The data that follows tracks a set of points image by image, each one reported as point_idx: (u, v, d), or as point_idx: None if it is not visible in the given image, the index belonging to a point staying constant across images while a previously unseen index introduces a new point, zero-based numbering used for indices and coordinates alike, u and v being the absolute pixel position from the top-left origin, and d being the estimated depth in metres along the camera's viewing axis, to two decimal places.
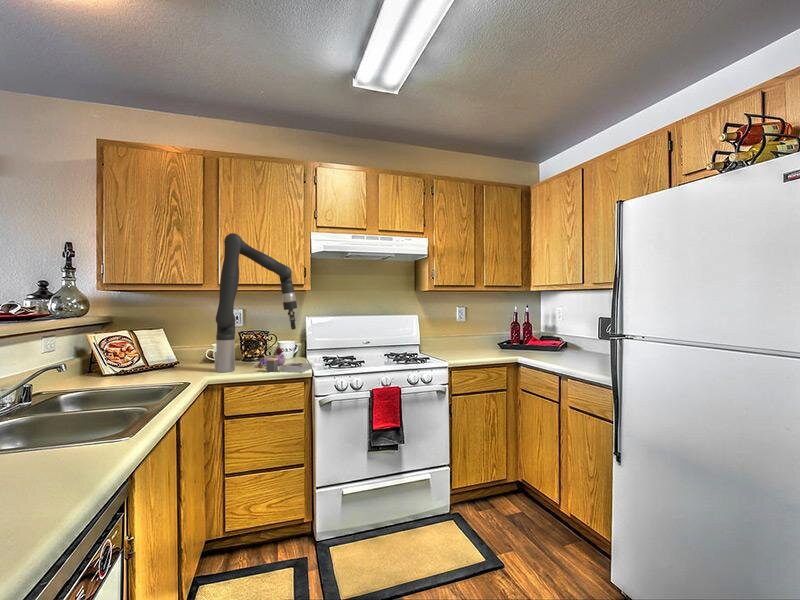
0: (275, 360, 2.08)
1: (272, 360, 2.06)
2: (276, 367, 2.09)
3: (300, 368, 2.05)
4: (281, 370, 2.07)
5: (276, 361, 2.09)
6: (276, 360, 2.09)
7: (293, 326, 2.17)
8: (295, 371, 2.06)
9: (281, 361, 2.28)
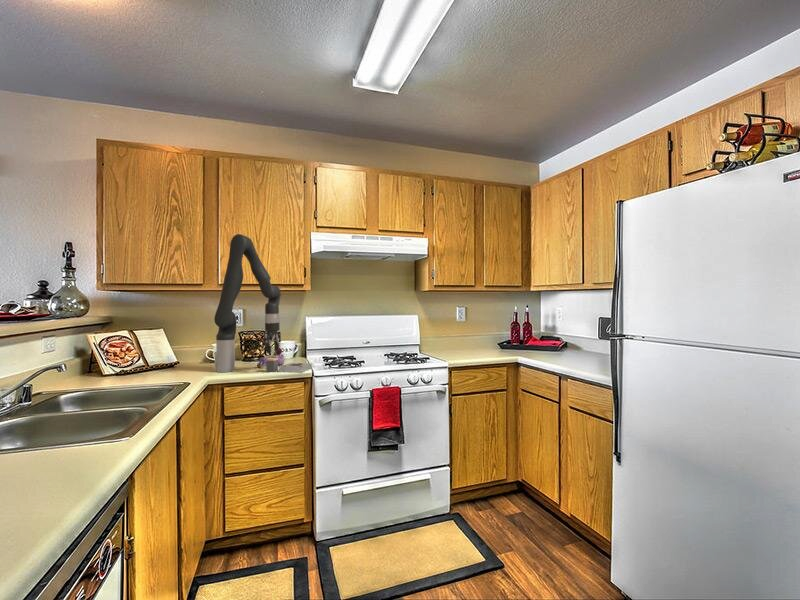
0: (275, 360, 2.08)
1: (272, 360, 2.06)
2: (276, 367, 2.09)
3: (300, 368, 2.05)
4: (281, 370, 2.07)
5: (276, 361, 2.09)
6: (276, 360, 2.09)
7: (267, 350, 2.04)
8: (295, 371, 2.06)
9: (281, 361, 2.28)
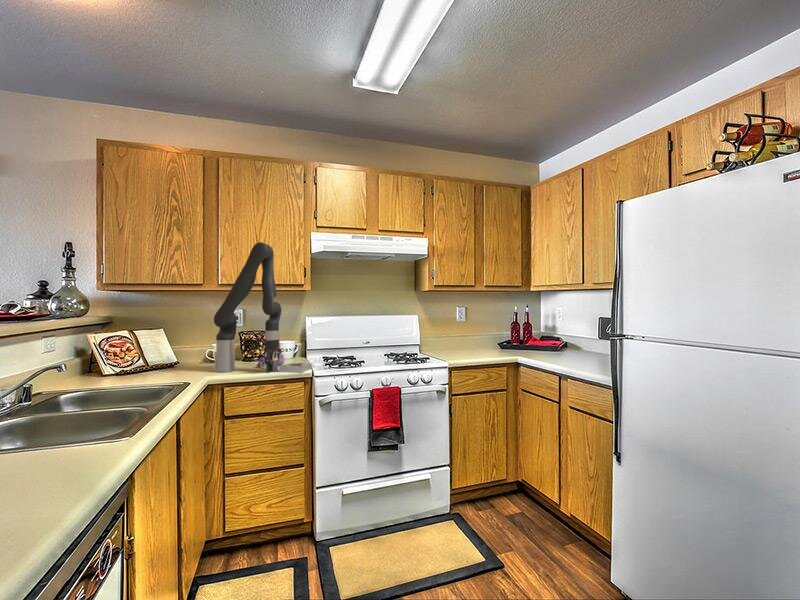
0: (275, 360, 2.08)
1: (272, 360, 2.07)
2: (276, 367, 2.09)
3: (300, 368, 2.05)
4: (281, 370, 2.07)
5: (276, 361, 2.09)
6: (276, 360, 2.09)
7: (269, 368, 2.06)
8: (295, 371, 2.06)
9: (280, 361, 2.28)
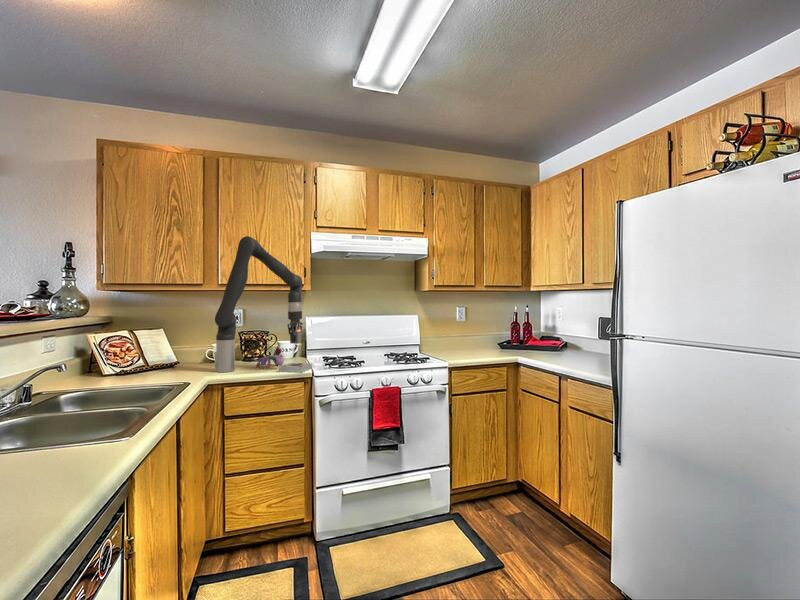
0: (298, 331, 2.12)
1: (296, 331, 2.10)
2: (299, 338, 2.13)
3: (300, 368, 2.05)
4: (281, 370, 2.07)
5: (299, 332, 2.13)
6: (299, 331, 2.13)
7: (292, 339, 2.09)
8: (295, 371, 2.06)
9: (280, 361, 2.27)
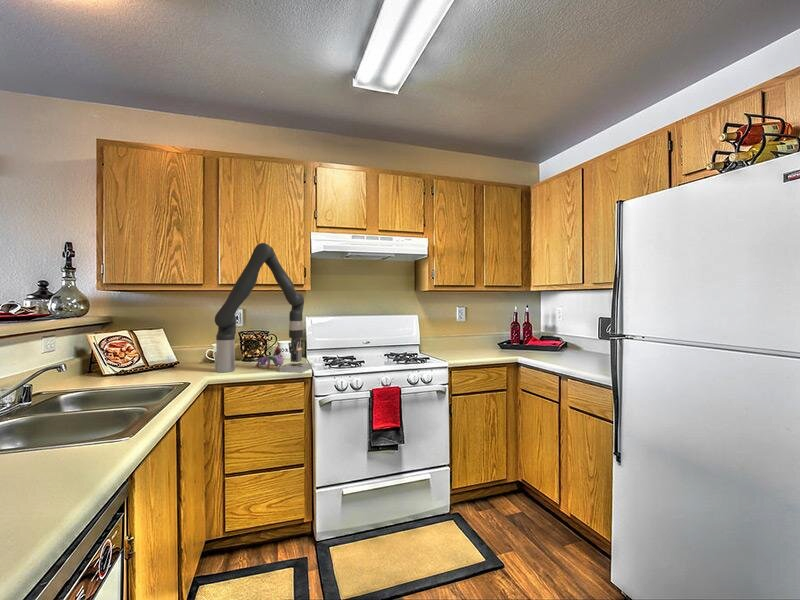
0: (299, 350, 2.12)
1: (296, 350, 2.10)
2: (300, 357, 2.13)
3: (300, 368, 2.05)
4: (281, 370, 2.07)
5: (300, 351, 2.13)
6: (300, 350, 2.13)
7: (293, 357, 2.10)
8: (295, 371, 2.06)
9: (279, 361, 2.27)
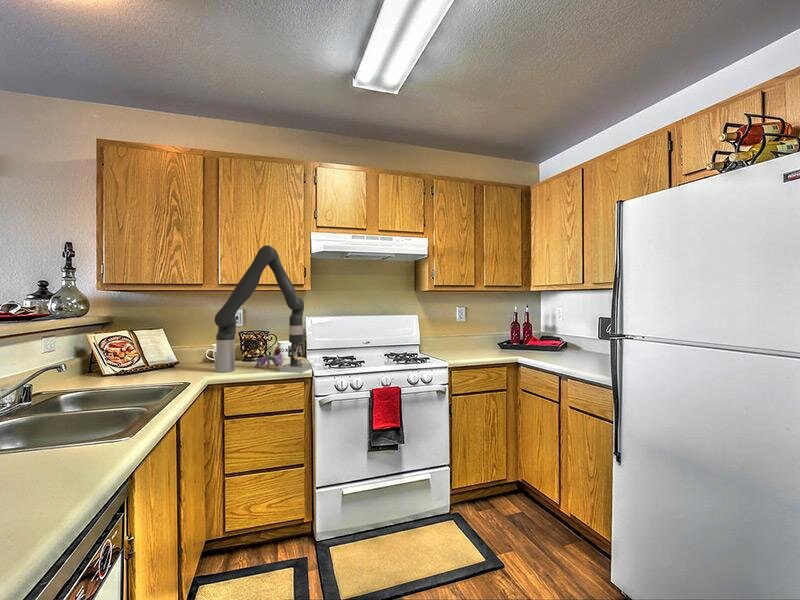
0: (299, 359, 2.12)
1: (296, 359, 2.10)
2: None
3: (300, 368, 2.05)
4: (281, 370, 2.07)
5: (300, 360, 2.13)
6: (300, 359, 2.13)
7: None
8: (295, 371, 2.06)
9: (279, 361, 2.27)
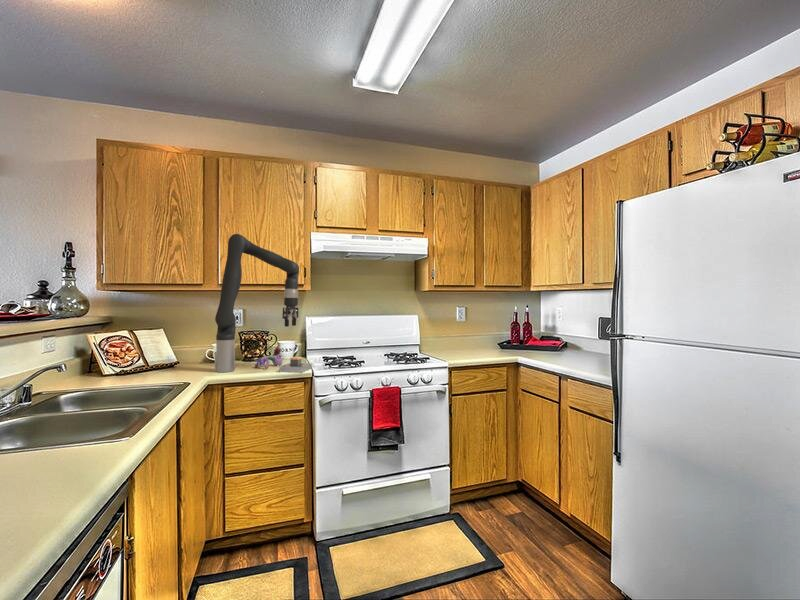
0: (299, 359, 2.12)
1: (296, 359, 2.10)
2: None
3: (300, 368, 2.05)
4: (281, 370, 2.07)
5: (300, 360, 2.13)
6: (300, 359, 2.13)
7: None
8: (295, 371, 2.06)
9: (278, 362, 2.26)
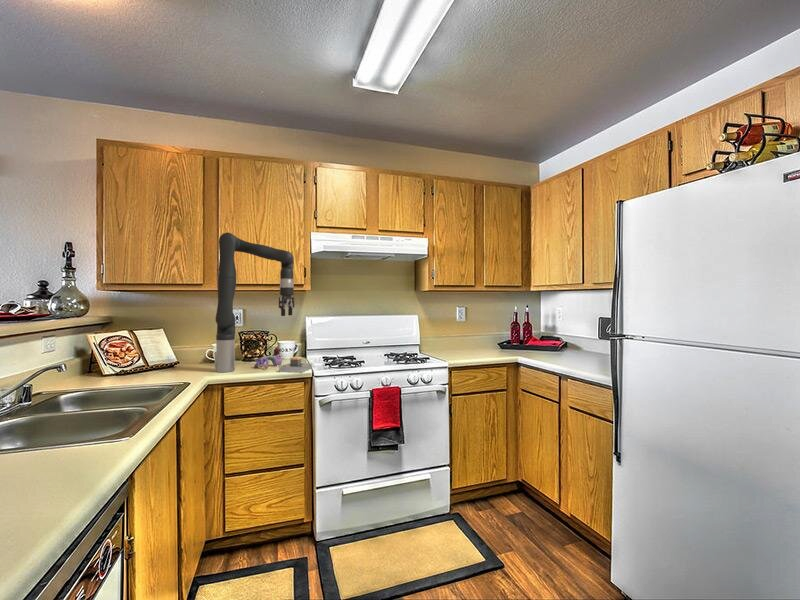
0: (299, 359, 2.12)
1: (296, 359, 2.10)
2: None
3: (300, 368, 2.05)
4: (281, 370, 2.07)
5: (300, 360, 2.13)
6: (300, 359, 2.13)
7: (282, 313, 2.12)
8: (295, 371, 2.06)
9: (278, 362, 2.26)
